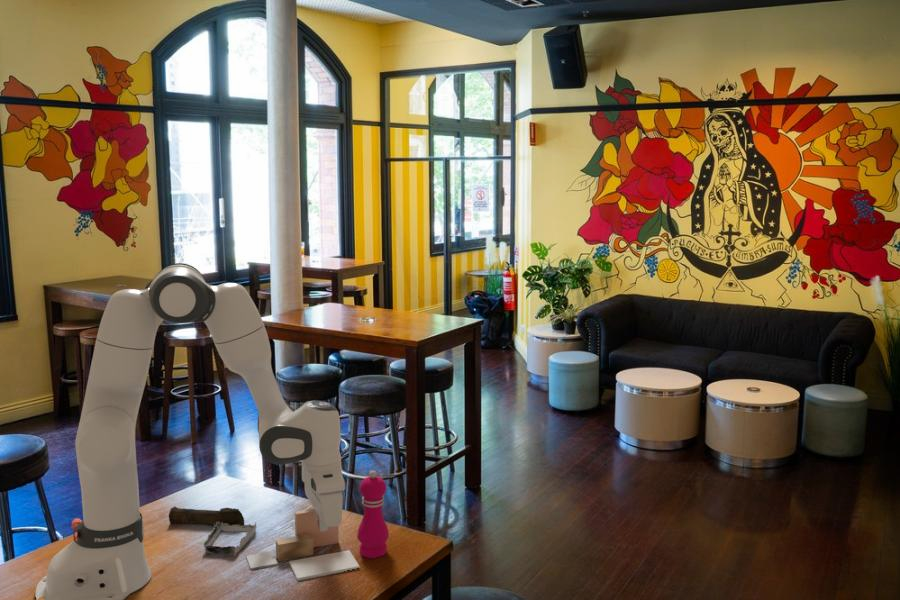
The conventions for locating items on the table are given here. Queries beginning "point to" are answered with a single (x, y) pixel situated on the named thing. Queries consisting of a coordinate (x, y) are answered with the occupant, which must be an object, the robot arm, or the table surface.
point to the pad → (323, 565)
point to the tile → (314, 528)
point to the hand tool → (206, 516)
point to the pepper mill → (373, 518)
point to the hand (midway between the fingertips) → (322, 528)
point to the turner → (283, 551)
